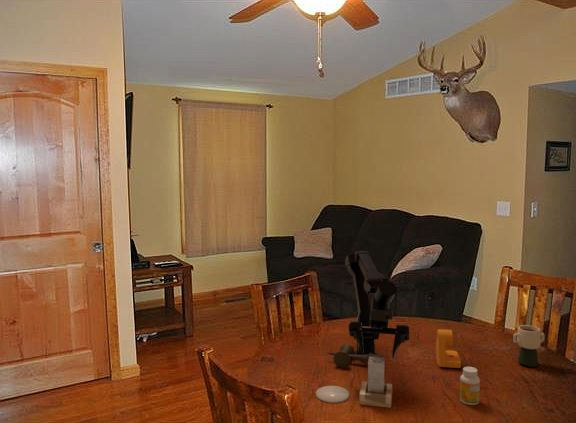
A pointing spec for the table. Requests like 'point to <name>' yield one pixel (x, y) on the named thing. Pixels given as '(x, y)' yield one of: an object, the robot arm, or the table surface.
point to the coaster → (332, 394)
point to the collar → (376, 396)
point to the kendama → (349, 356)
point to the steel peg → (376, 375)
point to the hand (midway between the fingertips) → (377, 356)
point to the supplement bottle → (469, 386)
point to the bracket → (446, 356)
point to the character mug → (528, 344)
